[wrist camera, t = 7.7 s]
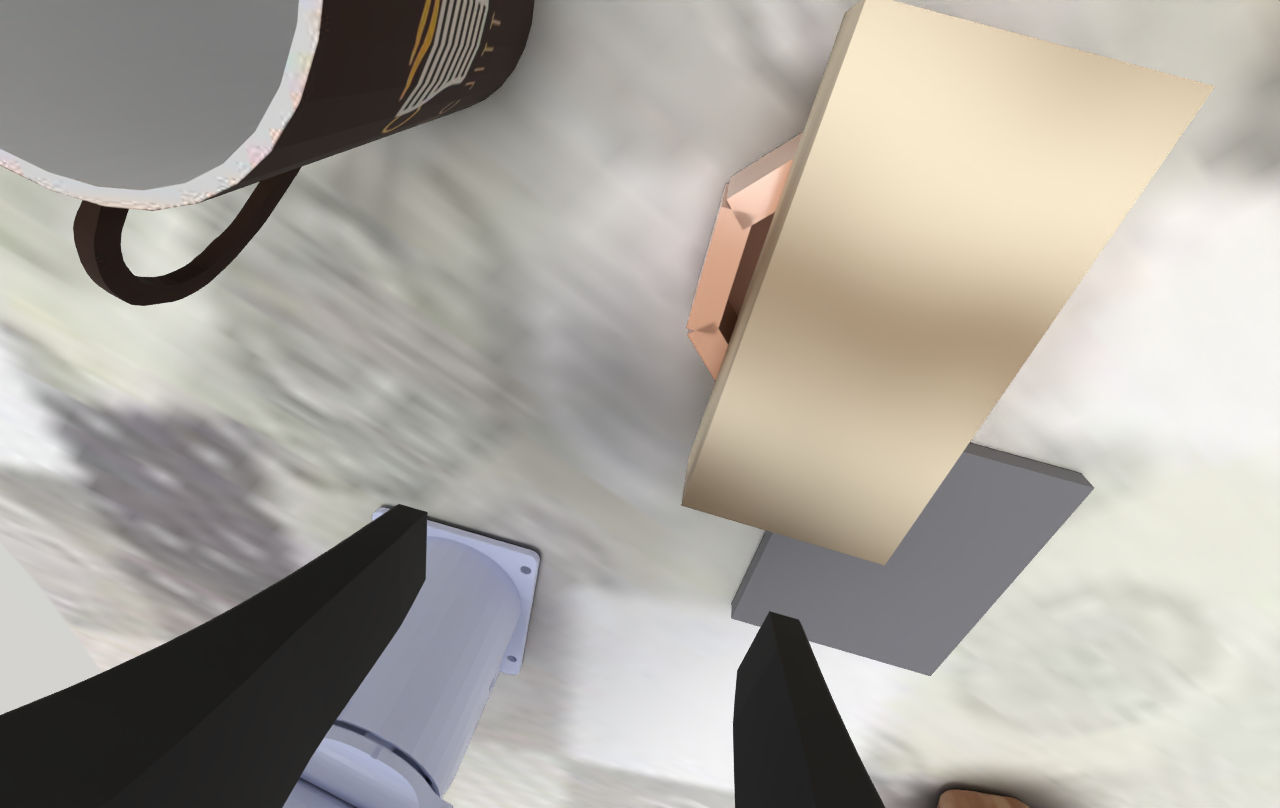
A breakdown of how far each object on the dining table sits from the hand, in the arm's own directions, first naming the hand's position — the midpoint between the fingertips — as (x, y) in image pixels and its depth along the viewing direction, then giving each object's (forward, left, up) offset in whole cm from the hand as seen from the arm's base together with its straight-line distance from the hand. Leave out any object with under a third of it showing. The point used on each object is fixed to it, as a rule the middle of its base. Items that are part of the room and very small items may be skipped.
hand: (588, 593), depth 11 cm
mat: (-5, -11, -10) cm, 15 cm away
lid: (+5, -4, -6) cm, 9 cm away
